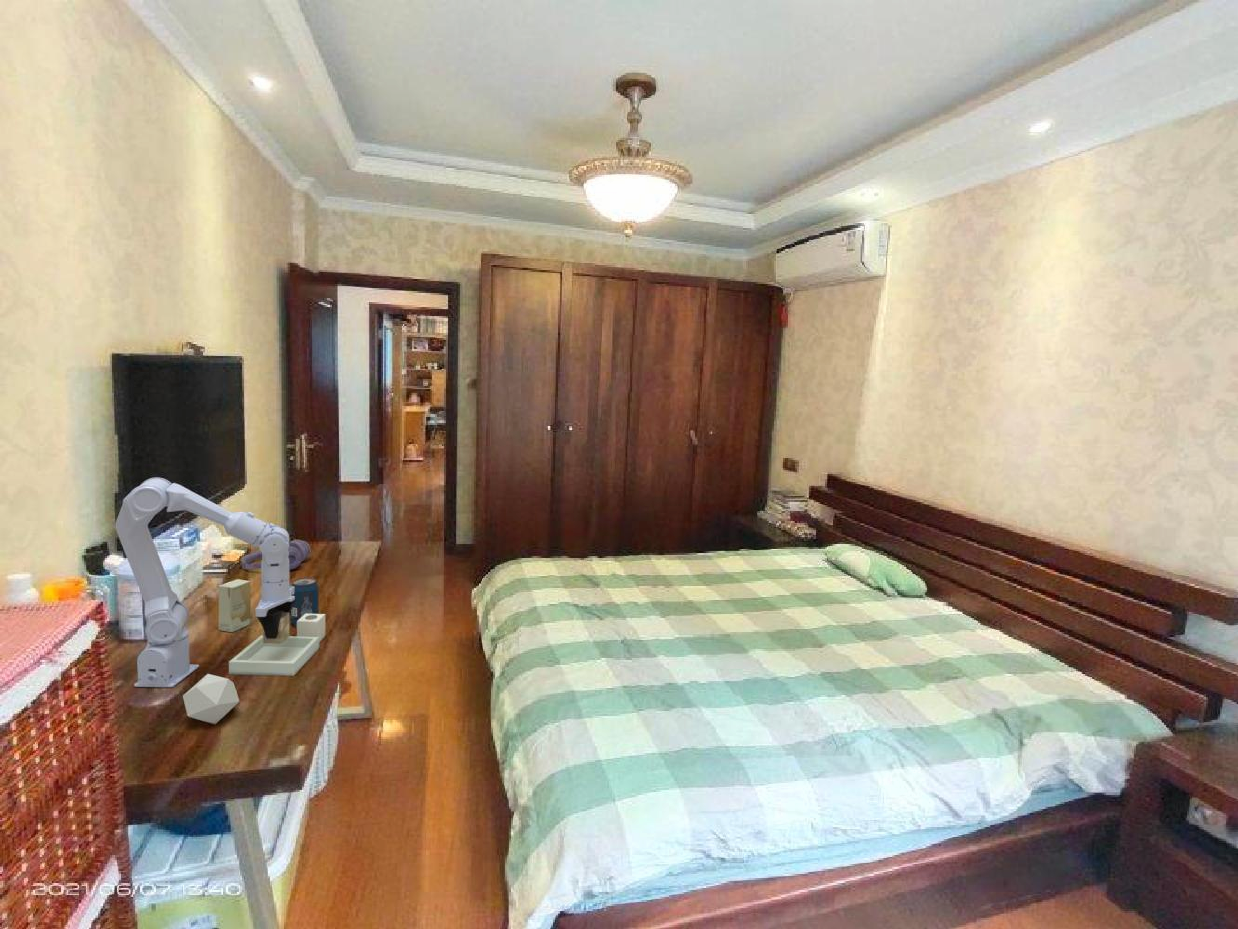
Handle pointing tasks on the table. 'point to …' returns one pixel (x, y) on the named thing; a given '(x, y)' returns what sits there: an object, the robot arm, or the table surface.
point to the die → (210, 698)
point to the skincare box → (234, 605)
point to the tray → (274, 657)
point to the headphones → (296, 556)
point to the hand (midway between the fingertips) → (276, 633)
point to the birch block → (280, 630)
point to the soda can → (304, 598)
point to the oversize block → (311, 626)
